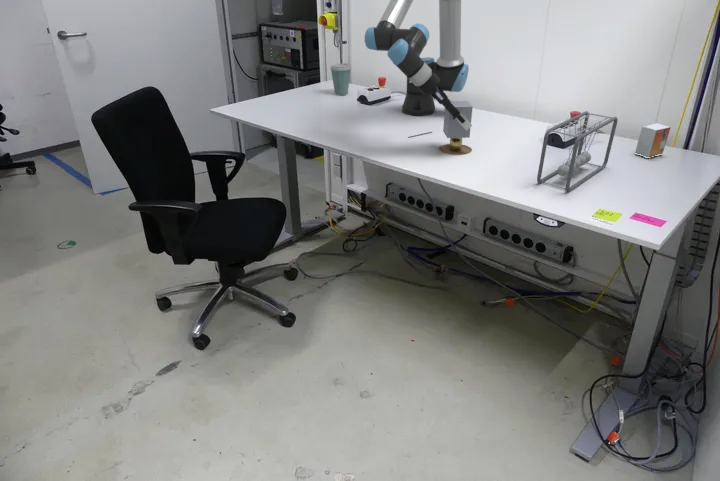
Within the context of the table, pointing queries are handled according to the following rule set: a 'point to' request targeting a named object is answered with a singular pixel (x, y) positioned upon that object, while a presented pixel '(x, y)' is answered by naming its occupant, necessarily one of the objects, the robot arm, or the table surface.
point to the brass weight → (455, 144)
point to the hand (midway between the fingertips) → (466, 124)
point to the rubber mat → (420, 134)
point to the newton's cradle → (581, 157)
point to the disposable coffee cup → (341, 78)
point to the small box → (652, 139)
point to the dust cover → (453, 126)
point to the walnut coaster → (463, 151)
